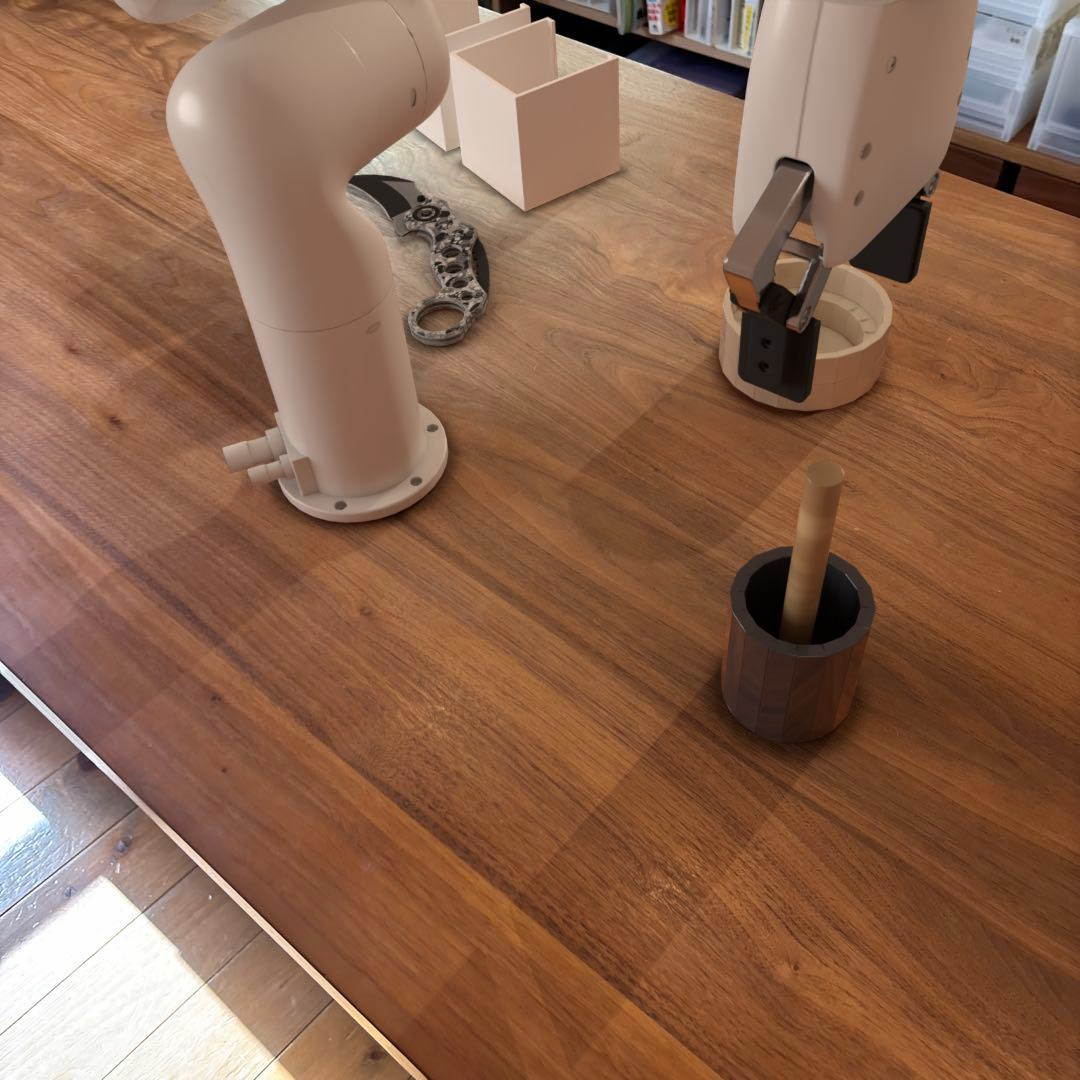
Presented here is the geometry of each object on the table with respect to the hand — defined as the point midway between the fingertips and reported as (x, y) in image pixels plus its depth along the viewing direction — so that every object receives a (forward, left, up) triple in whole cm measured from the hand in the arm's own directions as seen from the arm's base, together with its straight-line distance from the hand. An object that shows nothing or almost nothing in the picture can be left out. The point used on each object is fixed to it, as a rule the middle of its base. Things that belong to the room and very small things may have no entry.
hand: (829, 327), depth 49 cm
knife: (-7, +52, -26) cm, 58 cm away
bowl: (+15, +24, -25) cm, 38 cm away
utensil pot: (-1, -2, -25) cm, 25 cm away
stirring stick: (-1, -2, -25) cm, 25 cm away
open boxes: (+6, +67, -26) cm, 72 cm away
